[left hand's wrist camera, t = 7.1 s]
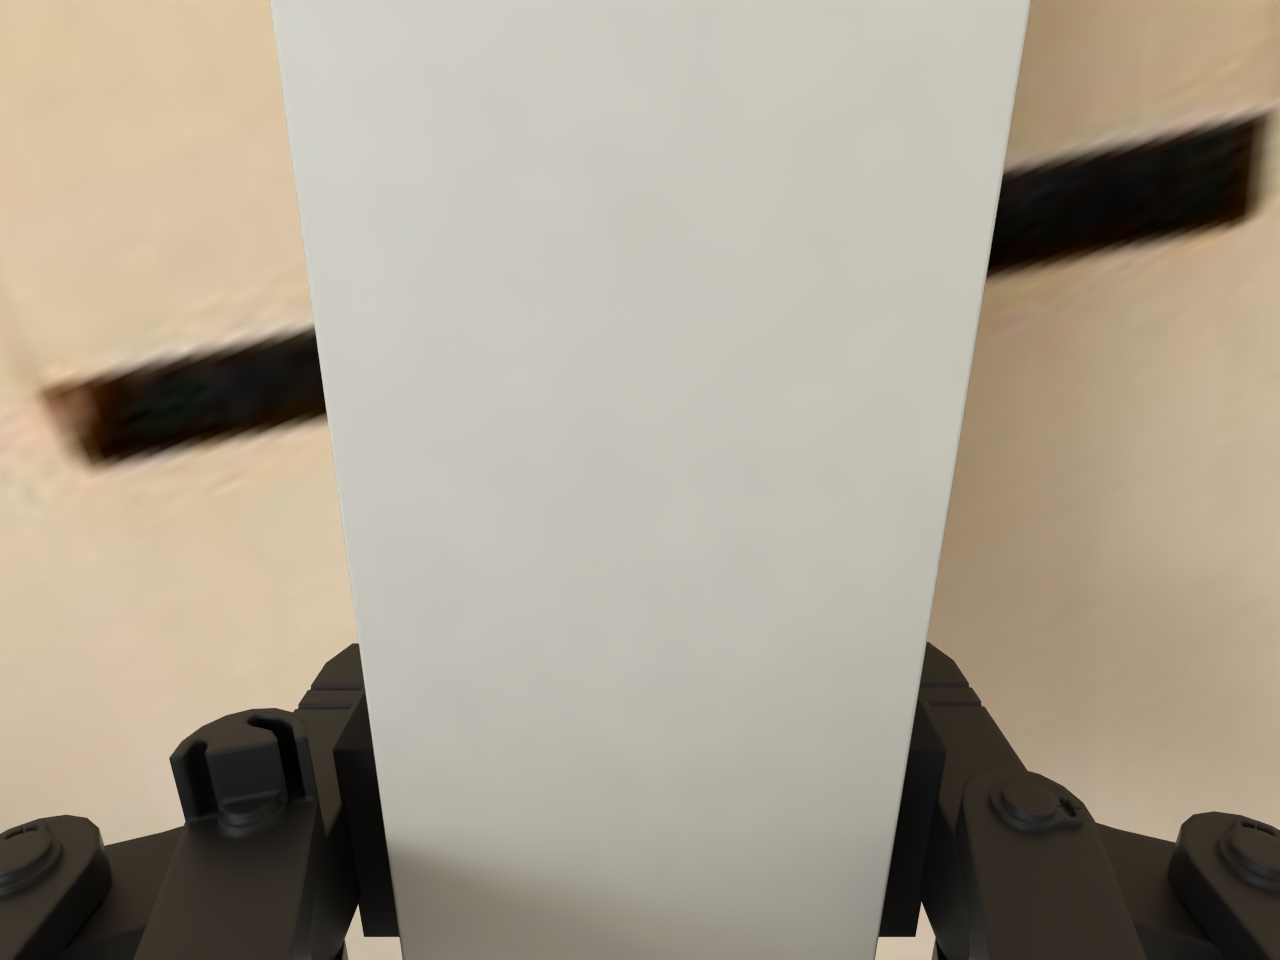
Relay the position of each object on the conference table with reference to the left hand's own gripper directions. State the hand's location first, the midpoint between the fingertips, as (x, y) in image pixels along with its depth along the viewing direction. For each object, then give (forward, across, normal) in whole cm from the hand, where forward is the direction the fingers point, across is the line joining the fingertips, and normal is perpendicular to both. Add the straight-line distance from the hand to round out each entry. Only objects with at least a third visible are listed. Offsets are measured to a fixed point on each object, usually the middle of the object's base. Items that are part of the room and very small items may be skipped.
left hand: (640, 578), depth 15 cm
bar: (0, 0, -32) cm, 32 cm away
